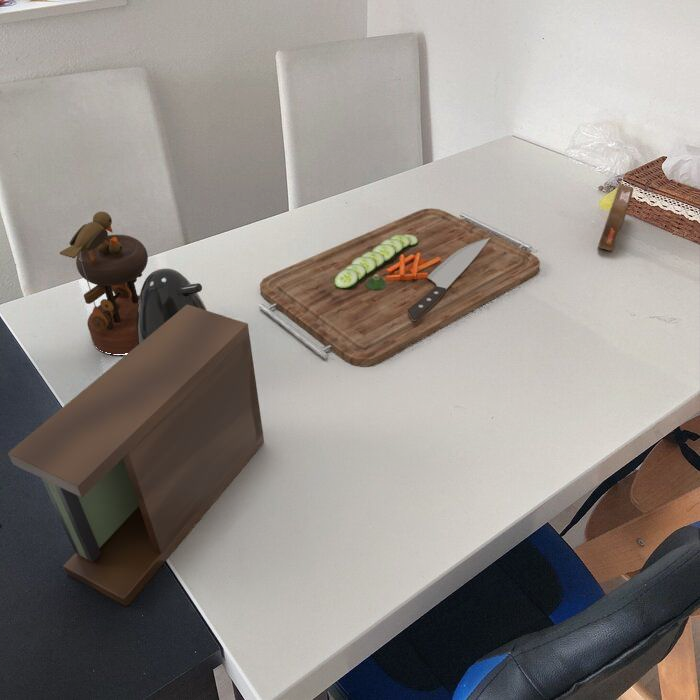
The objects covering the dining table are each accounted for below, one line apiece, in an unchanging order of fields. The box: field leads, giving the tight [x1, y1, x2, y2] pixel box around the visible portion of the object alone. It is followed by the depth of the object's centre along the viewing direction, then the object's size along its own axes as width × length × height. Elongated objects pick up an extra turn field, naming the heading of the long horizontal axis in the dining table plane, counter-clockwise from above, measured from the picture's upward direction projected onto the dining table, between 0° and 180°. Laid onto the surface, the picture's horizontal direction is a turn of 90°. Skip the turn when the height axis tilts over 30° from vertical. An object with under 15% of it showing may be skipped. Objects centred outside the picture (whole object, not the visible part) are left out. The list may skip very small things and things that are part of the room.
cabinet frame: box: [7, 305, 265, 608], centre depth 70 cm, size 8×24×18 cm, turn 153°
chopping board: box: [258, 207, 541, 368], centre depth 109 cm, size 45×27×3 cm, turn 130°
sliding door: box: [40, 458, 139, 562], centre depth 67 cm, size 2×11×14 cm, turn 152°
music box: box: [59, 211, 149, 354], centre depth 94 cm, size 15×11×20 cm
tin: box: [597, 182, 634, 251], centre depth 116 cm, size 15×3×8 cm, turn 155°
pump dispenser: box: [136, 267, 208, 345], centre depth 89 cm, size 10×10×15 cm
